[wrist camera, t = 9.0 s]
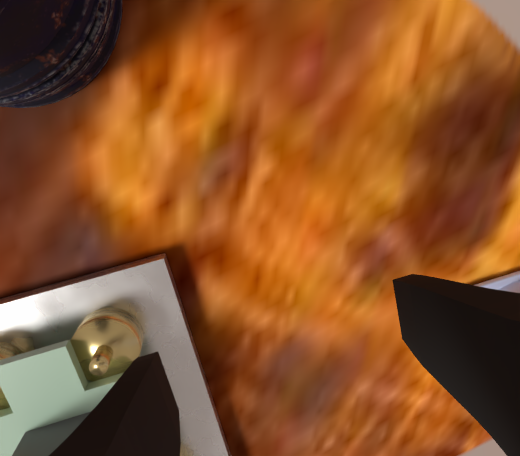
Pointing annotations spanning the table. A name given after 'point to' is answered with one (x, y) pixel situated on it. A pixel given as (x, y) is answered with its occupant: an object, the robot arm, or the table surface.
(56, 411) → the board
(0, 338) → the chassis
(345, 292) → the table surface
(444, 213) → the table surface
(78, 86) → the storage jar
